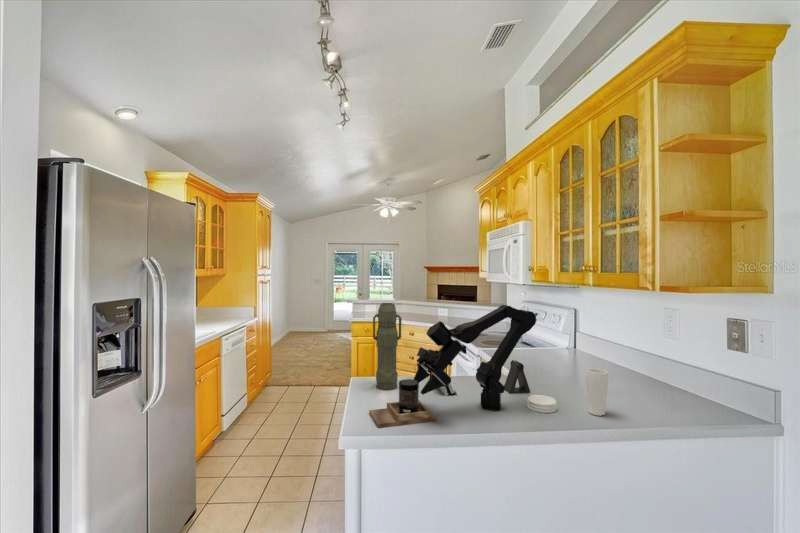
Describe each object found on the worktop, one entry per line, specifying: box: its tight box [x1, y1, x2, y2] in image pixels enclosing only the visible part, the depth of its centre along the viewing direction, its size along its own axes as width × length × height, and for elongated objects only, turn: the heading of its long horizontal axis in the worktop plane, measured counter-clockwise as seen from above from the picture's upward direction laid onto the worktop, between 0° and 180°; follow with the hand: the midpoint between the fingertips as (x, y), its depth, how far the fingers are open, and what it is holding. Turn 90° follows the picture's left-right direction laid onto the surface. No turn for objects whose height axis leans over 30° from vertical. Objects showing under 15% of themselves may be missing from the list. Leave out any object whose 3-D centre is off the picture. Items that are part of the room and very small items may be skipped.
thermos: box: [372, 302, 403, 391], centre depth 162 cm, size 9×12×35 cm
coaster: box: [526, 394, 558, 414], centre depth 140 cm, size 10×10×4 cm
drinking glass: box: [586, 367, 609, 417], centre depth 135 cm, size 7×7×15 cm
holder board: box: [368, 400, 438, 429], centre depth 131 cm, size 20×12×3 cm, turn 108°
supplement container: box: [398, 378, 420, 414], centre depth 131 cm, size 7×7×10 cm
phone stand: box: [503, 359, 531, 395], centre depth 159 cm, size 9×6×12 cm, turn 99°
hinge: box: [432, 372, 458, 397], centre depth 160 cm, size 17×5×10 cm, turn 9°
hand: (416, 389), depth 132 cm, fingers open, 9 cm apart
